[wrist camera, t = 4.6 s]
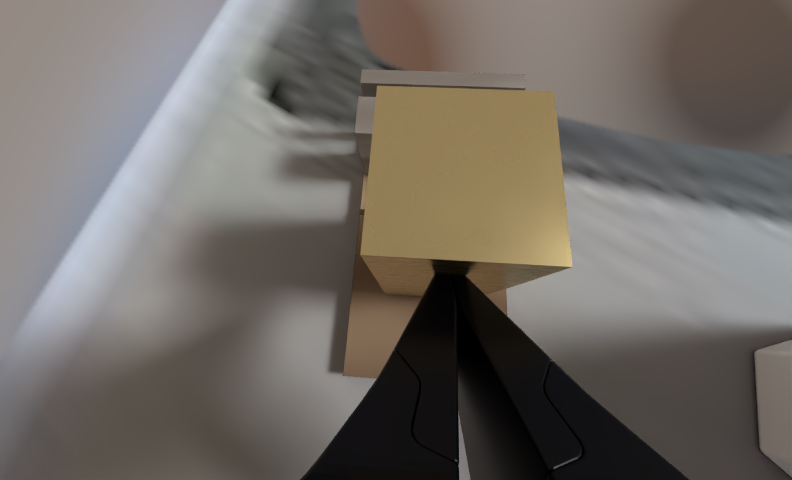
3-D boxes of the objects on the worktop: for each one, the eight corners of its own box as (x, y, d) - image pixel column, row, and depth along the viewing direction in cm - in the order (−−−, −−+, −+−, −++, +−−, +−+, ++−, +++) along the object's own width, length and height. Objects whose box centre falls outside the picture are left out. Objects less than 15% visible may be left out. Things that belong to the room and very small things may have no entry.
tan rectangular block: (472, 299, 15) (572, 266, 6) (385, 294, 15) (360, 255, 6) (471, 138, 17) (539, -49, 9) (397, 135, 17) (390, -51, 9)
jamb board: (504, 384, 15) (551, 413, 10) (346, 372, 15) (320, 395, 10) (495, 135, 18) (526, 72, 14) (371, 130, 19) (360, 67, 14)
